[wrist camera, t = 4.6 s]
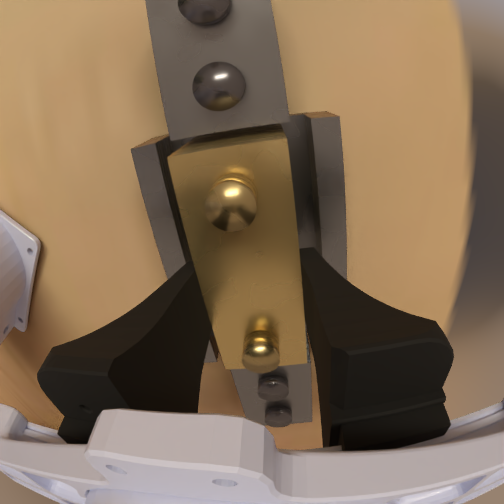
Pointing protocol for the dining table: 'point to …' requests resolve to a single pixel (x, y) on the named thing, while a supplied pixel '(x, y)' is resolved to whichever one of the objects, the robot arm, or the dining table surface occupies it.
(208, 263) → the brass link
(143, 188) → the chain
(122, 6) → the dining table surface
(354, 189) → the dining table surface
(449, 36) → the dining table surface
